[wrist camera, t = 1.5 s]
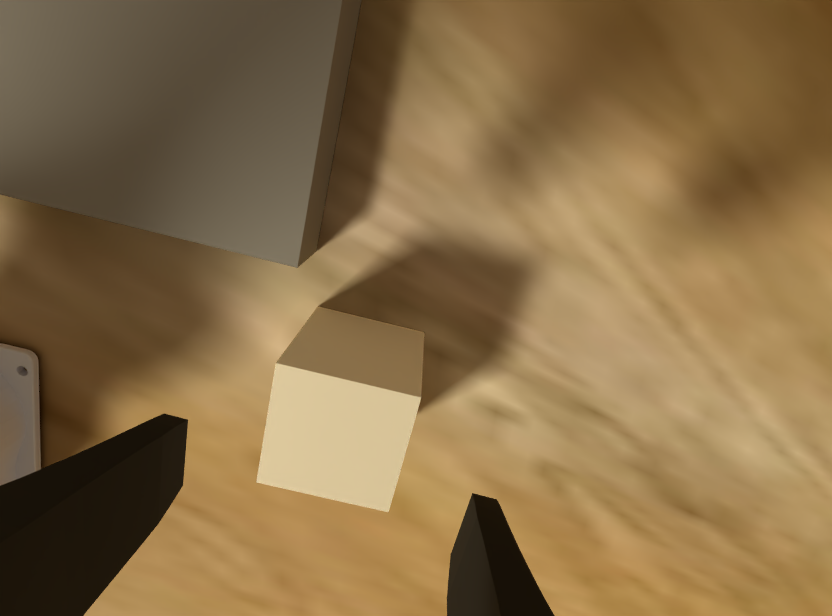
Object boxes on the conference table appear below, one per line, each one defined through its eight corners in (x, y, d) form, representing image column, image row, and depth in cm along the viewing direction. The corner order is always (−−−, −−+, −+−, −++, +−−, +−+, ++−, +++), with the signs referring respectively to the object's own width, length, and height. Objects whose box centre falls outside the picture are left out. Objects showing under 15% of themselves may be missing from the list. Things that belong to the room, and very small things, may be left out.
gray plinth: (316, 251, 20) (297, 267, 17) (39, 182, 20) (-27, 187, 17) (374, -74, 16) (362, -120, 14) (32, -171, 16) (-56, -241, 13)
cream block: (399, 422, 23) (388, 512, 17) (300, 399, 23) (256, 482, 17) (424, 331, 21) (421, 397, 16) (318, 305, 21) (275, 363, 15)
